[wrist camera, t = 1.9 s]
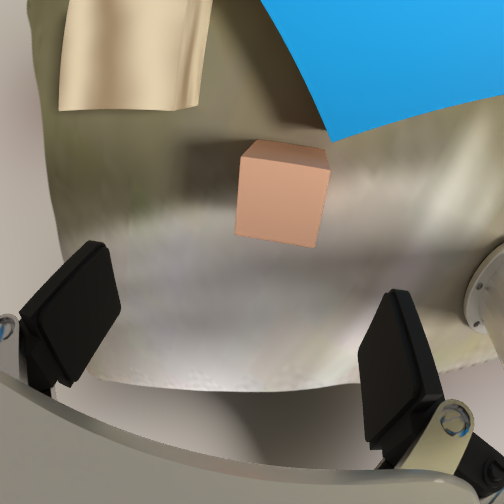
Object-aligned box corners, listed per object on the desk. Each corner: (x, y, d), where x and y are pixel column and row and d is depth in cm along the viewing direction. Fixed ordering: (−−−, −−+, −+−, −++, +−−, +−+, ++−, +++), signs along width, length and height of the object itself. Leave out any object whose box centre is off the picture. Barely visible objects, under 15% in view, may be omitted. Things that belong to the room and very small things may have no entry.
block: (324, 149, 21) (330, 170, 16) (313, 210, 23) (314, 248, 18) (257, 139, 21) (240, 156, 16) (251, 200, 24) (234, 234, 19)
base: (216, -12, 15) (193, -33, 11) (199, 105, 21) (172, 110, 16) (107, 1, 16) (71, -8, 12) (96, 102, 21) (58, 111, 17)
